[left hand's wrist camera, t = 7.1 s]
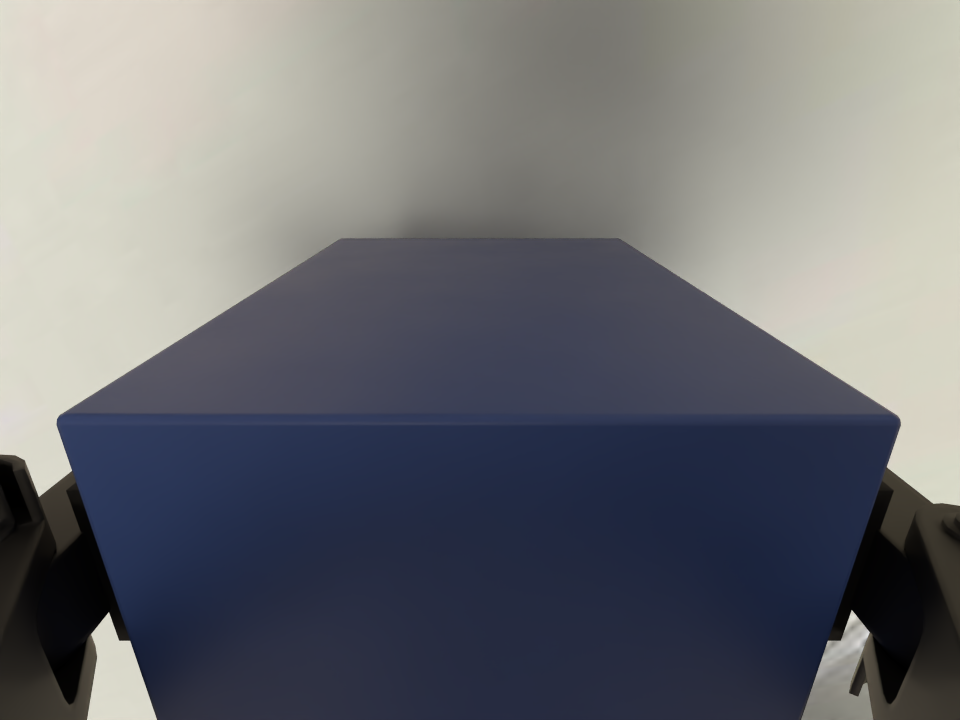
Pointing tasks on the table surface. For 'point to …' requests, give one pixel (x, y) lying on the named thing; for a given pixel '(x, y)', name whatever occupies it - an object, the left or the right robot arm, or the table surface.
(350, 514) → the box
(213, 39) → the table surface
